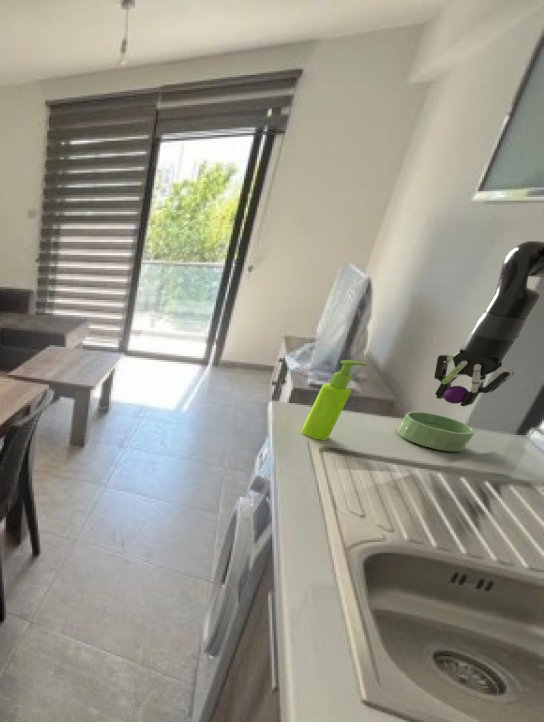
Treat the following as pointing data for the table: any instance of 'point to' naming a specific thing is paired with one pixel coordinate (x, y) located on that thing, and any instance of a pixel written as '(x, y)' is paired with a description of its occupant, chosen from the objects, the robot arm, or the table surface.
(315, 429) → the soap dispenser
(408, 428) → the bowl
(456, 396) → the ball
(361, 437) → the table surface
